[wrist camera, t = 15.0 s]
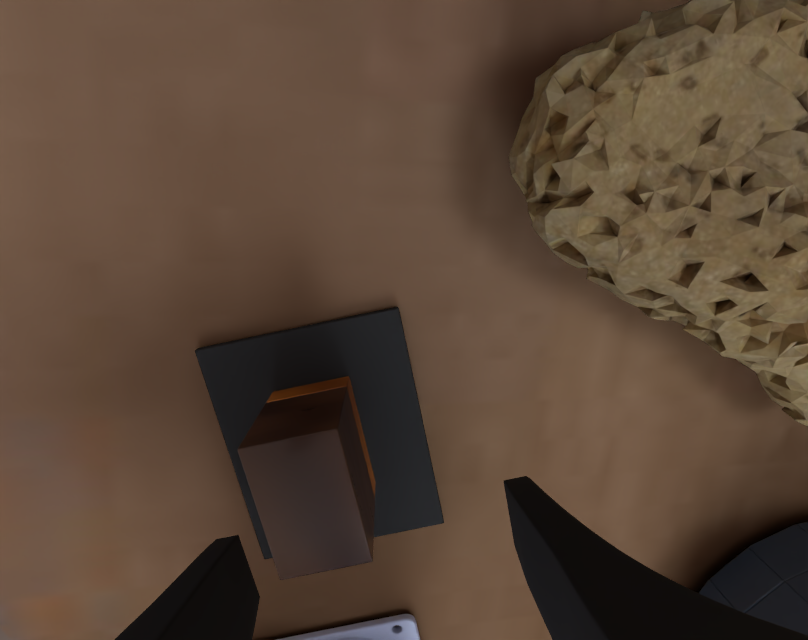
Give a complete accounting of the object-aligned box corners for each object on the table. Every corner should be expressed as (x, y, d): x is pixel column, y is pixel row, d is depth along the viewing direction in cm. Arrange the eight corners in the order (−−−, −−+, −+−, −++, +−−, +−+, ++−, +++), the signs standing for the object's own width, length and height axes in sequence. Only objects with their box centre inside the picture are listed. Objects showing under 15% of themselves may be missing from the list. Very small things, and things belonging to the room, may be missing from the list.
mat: (266, 553, 23) (264, 559, 22) (197, 347, 20) (194, 350, 20) (443, 518, 23) (444, 523, 22) (398, 306, 20) (398, 308, 20)
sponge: (928, 265, 22) (791, -183, 14) (1177, 359, 15) (1191, -417, 7) (673, 411, 26) (453, 130, 18) (778, 538, 19) (498, 175, 11)
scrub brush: (303, 497, 22) (279, 581, 17) (272, 391, 20) (236, 449, 15) (375, 482, 22) (373, 562, 17) (349, 375, 20) (337, 428, 15)
